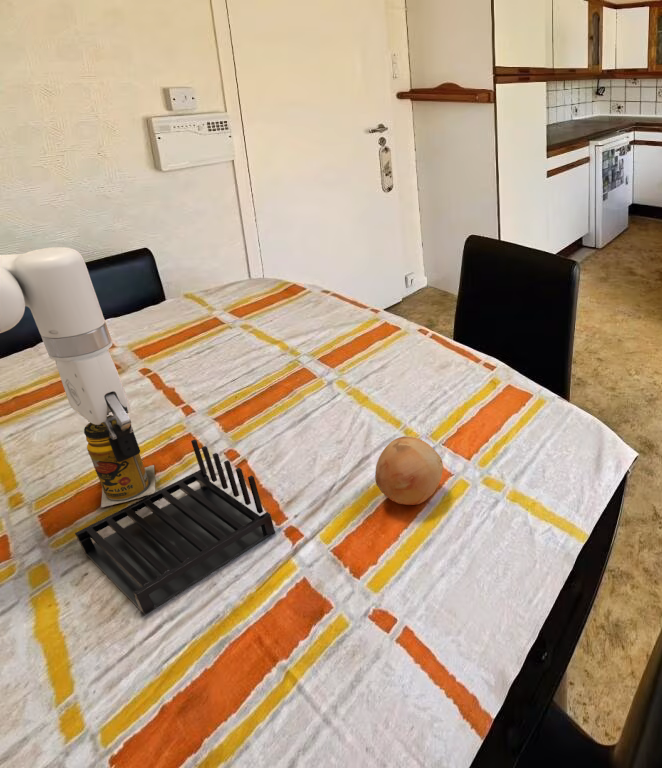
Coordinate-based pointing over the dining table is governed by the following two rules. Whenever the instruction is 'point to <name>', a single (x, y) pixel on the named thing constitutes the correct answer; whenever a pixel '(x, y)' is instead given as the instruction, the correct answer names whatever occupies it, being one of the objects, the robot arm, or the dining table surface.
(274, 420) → the dining table surface
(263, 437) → the dining table surface
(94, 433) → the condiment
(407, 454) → the onion
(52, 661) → the dining table surface
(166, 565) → the dish rack
